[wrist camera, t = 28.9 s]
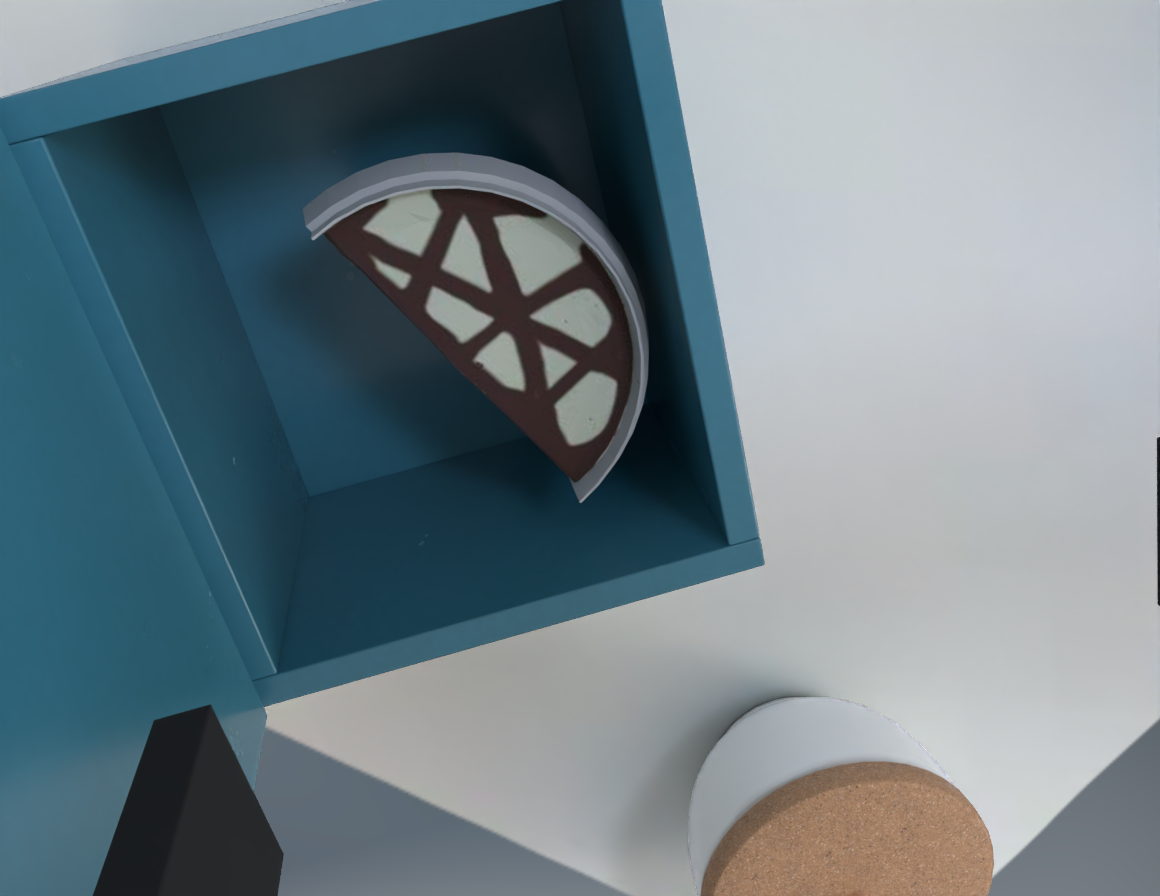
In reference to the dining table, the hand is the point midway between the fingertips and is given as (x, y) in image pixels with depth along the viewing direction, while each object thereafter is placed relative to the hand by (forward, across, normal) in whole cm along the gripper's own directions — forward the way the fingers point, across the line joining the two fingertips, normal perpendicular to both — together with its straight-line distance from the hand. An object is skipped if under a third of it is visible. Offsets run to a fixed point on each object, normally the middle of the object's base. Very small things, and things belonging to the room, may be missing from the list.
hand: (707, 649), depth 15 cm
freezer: (+29, +4, 0) cm, 29 cm away
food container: (+28, +1, 0) cm, 28 cm away
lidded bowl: (+29, -6, +29) cm, 42 cm away
